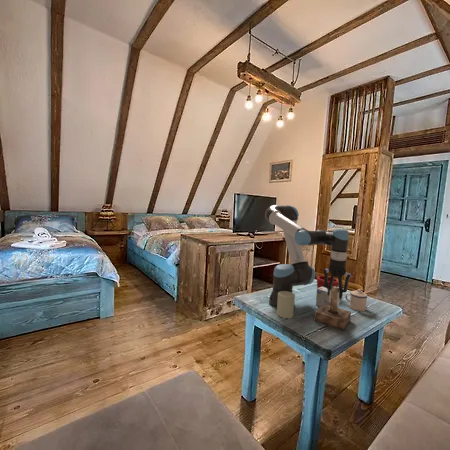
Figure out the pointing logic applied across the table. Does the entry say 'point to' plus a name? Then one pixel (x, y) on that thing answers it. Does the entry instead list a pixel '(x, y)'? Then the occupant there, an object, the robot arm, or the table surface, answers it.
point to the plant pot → (321, 282)
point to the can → (285, 304)
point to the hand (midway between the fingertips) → (334, 302)
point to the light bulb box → (322, 296)
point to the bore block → (332, 317)
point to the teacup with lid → (357, 300)
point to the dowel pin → (334, 299)
